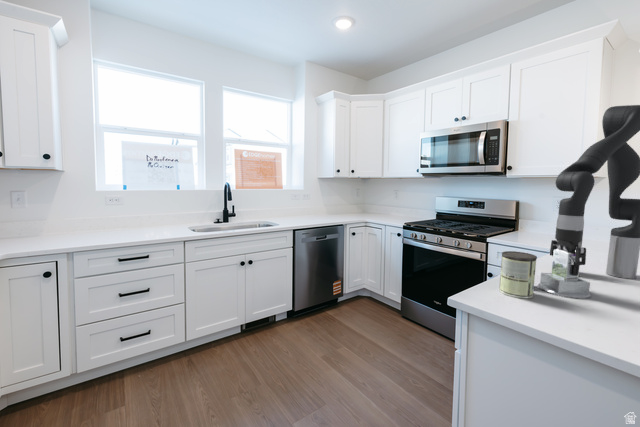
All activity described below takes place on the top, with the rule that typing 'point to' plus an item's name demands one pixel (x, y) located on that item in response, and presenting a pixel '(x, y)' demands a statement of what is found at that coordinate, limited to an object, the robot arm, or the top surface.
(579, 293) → the collar
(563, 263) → the syrup box
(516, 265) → the coffee can
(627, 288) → the top surface
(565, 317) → the top surface
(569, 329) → the top surface
